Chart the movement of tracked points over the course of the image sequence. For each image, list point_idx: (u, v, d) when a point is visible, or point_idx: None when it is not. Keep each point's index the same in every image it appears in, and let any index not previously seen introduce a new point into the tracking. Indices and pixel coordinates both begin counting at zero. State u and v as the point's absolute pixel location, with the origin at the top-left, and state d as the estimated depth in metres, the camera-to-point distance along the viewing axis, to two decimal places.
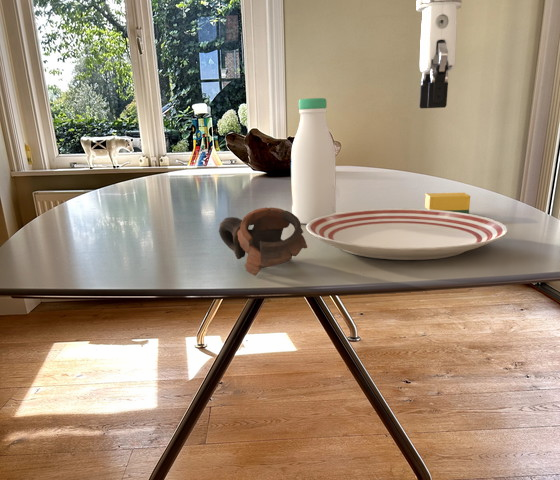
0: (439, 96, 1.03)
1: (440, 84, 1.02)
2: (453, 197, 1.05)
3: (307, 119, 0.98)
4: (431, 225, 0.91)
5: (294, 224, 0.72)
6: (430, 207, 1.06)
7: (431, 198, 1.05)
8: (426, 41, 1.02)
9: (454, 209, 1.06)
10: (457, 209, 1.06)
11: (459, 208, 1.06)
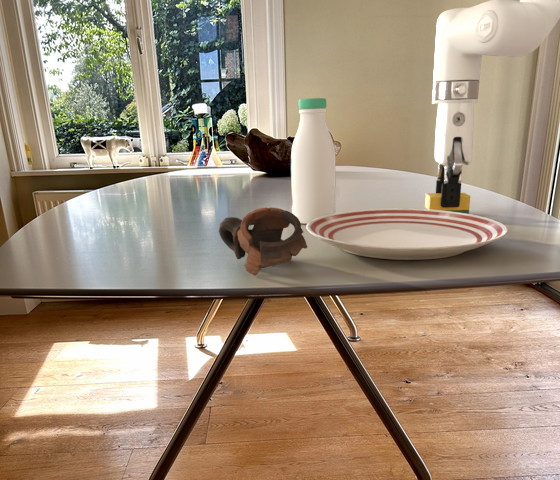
0: (452, 197, 1.04)
1: (454, 186, 1.03)
2: None
3: (307, 119, 0.98)
4: (431, 225, 0.91)
5: (294, 224, 0.72)
6: (430, 207, 1.06)
7: (431, 198, 1.05)
8: (442, 137, 1.00)
9: (454, 209, 1.06)
10: (457, 209, 1.06)
11: (459, 208, 1.06)
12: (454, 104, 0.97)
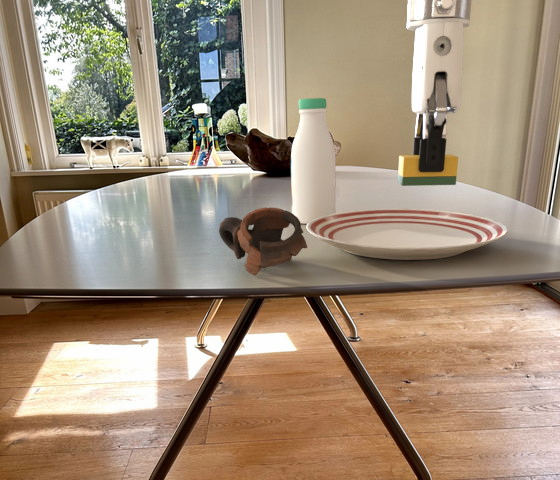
0: (434, 157, 0.76)
1: (436, 142, 0.75)
2: None
3: (307, 119, 0.98)
4: (431, 225, 0.91)
5: (294, 224, 0.72)
6: (404, 172, 0.78)
7: (405, 159, 0.78)
8: (420, 73, 0.73)
9: (436, 175, 0.78)
10: (440, 175, 0.78)
11: (443, 174, 0.78)
12: (436, 24, 0.70)
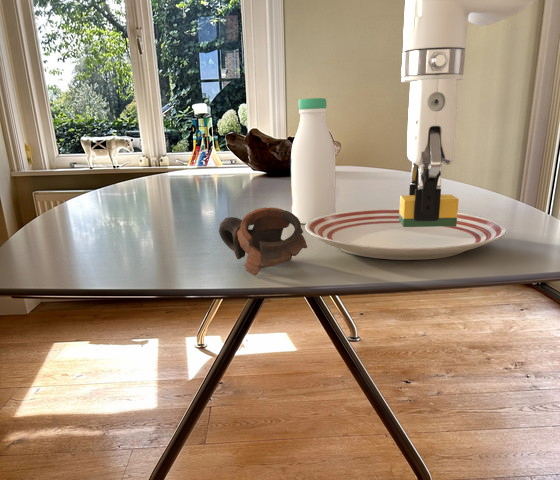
0: (429, 207, 0.77)
1: (431, 192, 0.77)
2: None
3: (307, 119, 0.98)
4: None
5: (294, 224, 0.72)
6: (405, 214, 0.79)
7: (406, 202, 0.78)
8: (414, 126, 0.74)
9: None
10: (441, 217, 0.79)
11: (444, 215, 0.79)
12: (430, 81, 0.71)
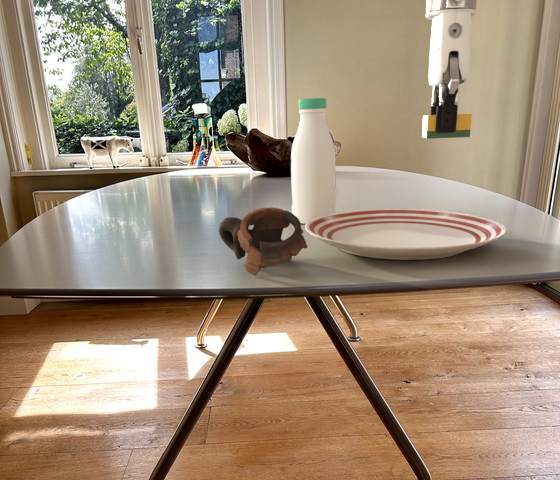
0: (448, 120, 0.96)
1: (450, 107, 0.95)
2: None
3: (307, 119, 0.98)
4: (429, 225, 0.91)
5: (294, 224, 0.72)
6: (428, 127, 0.97)
7: (429, 117, 0.97)
8: (437, 52, 0.92)
9: None
10: (457, 129, 0.97)
11: (459, 128, 0.97)
12: (450, 14, 0.89)
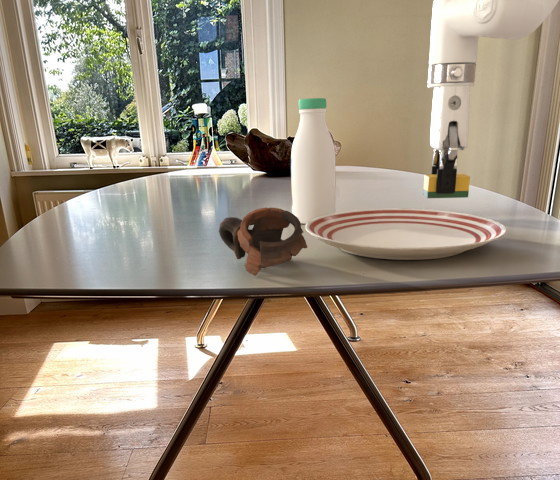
0: (448, 183, 1.02)
1: (449, 171, 1.01)
2: None
3: (307, 119, 0.98)
4: (429, 225, 0.91)
5: (294, 224, 0.72)
6: (429, 188, 1.04)
7: (430, 179, 1.03)
8: (437, 121, 0.98)
9: None
10: (456, 190, 1.04)
11: (458, 189, 1.03)
12: (450, 87, 0.96)
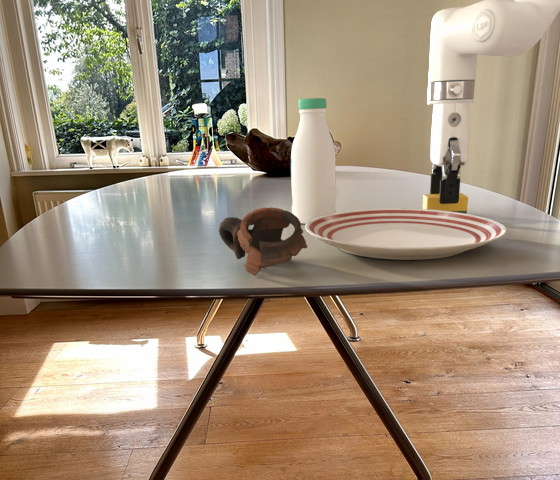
0: (451, 193, 1.00)
1: (453, 181, 1.00)
2: None
3: (307, 119, 0.98)
4: (429, 225, 0.91)
5: (294, 224, 0.72)
6: (428, 208, 1.05)
7: (429, 199, 1.04)
8: (438, 137, 0.99)
9: (452, 210, 1.05)
10: (455, 210, 1.05)
11: (457, 209, 1.05)
12: (449, 104, 0.96)
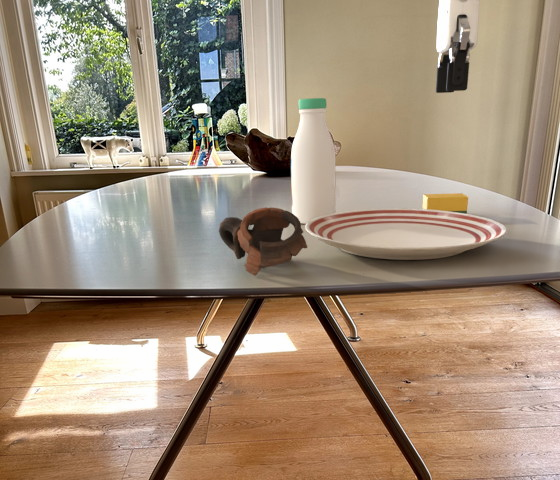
0: (459, 77, 0.94)
1: (461, 64, 0.93)
2: (450, 198, 1.04)
3: (307, 119, 0.98)
4: (429, 225, 0.91)
5: (294, 224, 0.72)
6: (428, 208, 1.05)
7: (429, 199, 1.04)
8: (445, 16, 0.92)
9: (452, 210, 1.05)
10: (455, 210, 1.05)
11: (457, 209, 1.05)
12: None
